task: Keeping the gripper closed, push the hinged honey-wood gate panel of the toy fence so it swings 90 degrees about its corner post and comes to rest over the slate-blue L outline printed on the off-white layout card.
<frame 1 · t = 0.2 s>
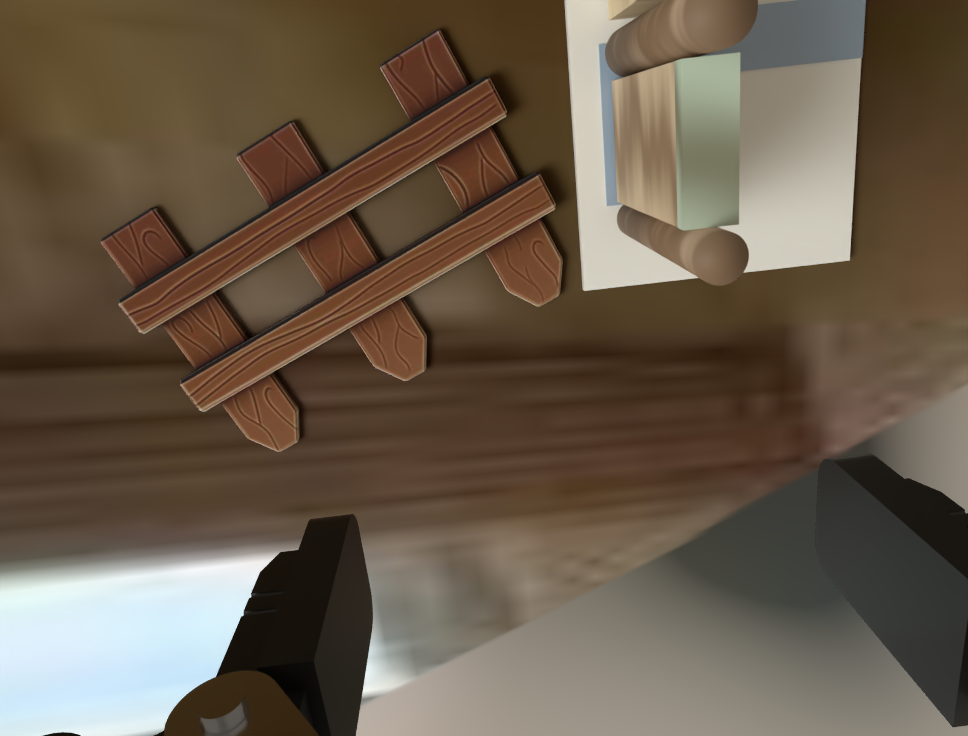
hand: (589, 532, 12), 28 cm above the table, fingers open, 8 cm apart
layout card: (713, 43, 36), on the table
fixed leg: (628, 51, 36), resting on layout card
decorative fence: (346, 259, 40), on the table
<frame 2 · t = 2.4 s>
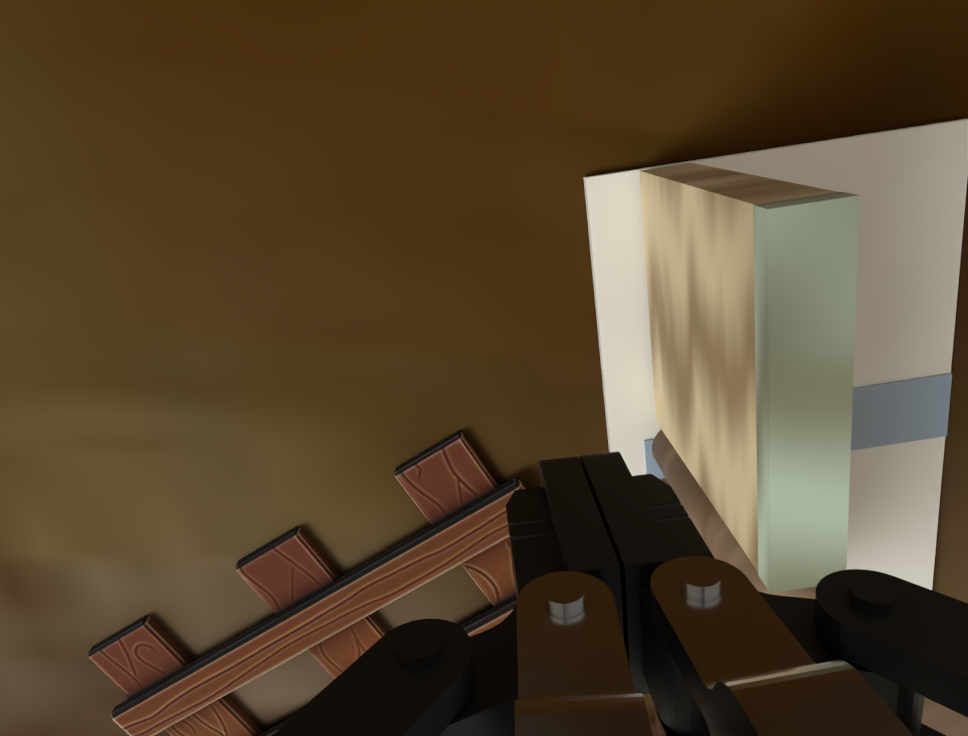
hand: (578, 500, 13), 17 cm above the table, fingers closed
layout card: (775, 426, 32), on the table
fixed leg: (678, 446, 31), resting on layout card
gate panel: (725, 343, 23), point 7 cm above the table, hinge at 0.0°
decorative fence: (363, 641, 36), on the table
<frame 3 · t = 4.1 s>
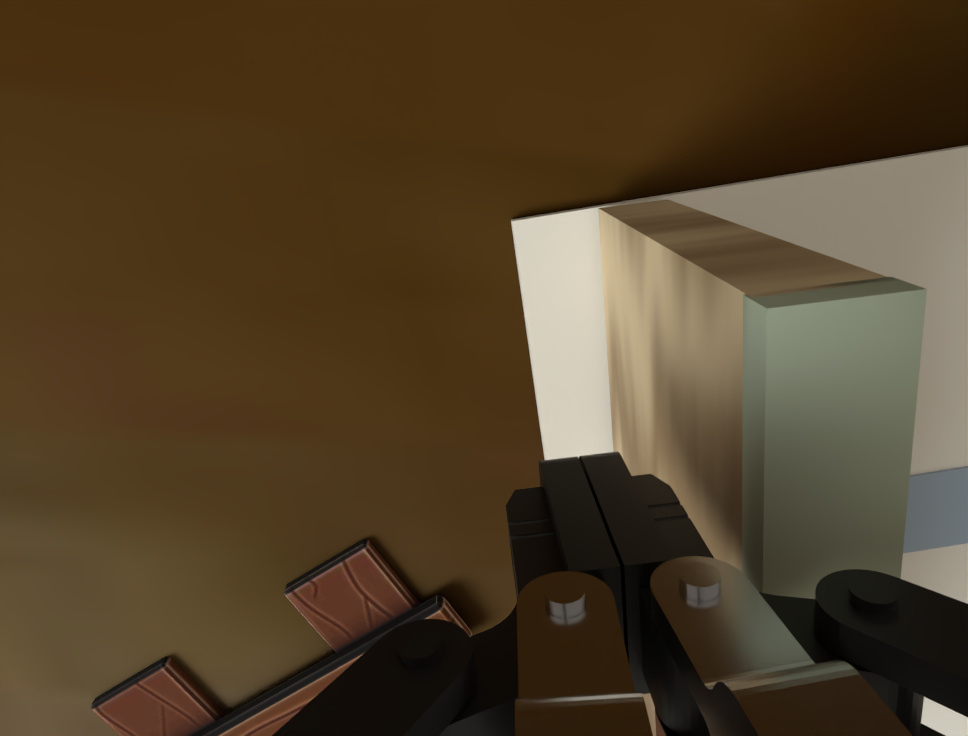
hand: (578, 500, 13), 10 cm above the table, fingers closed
layout card: (771, 528, 25), on the table
gate panel: (703, 460, 16), point 7 cm above the table, hinge at -2.3°, touching gripper
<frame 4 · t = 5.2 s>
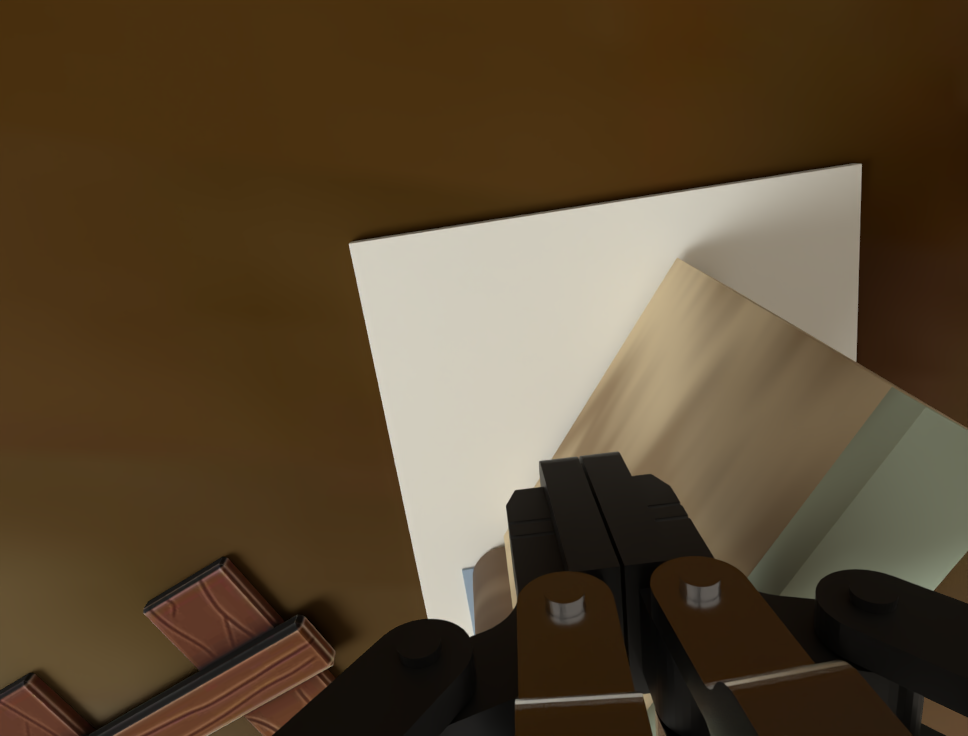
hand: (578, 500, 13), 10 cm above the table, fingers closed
layout card: (633, 548, 25), on the table
fixed leg: (507, 576, 24), resting on layout card
gate panel: (663, 515, 17), point 7 cm above the table, hinge at -36.8°, touching gripper
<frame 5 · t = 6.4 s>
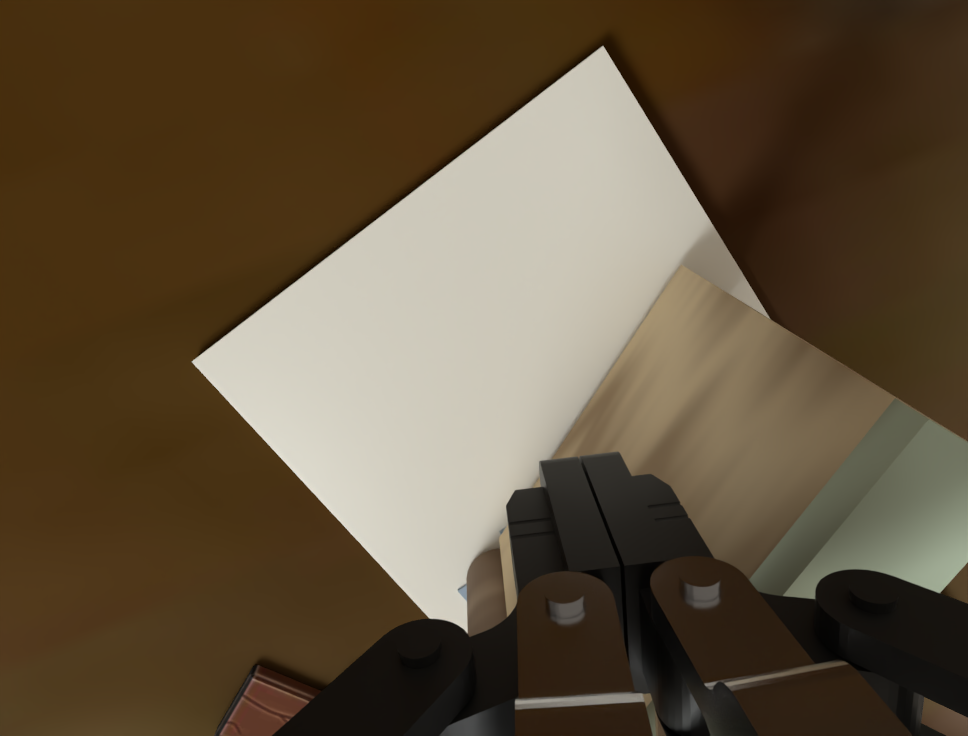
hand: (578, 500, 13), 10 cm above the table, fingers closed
layout card: (607, 500, 24), on the table
fixed leg: (501, 578, 24), resting on layout card
gate panel: (661, 521, 17), point 7 cm above the table, hinge at -66.3°, touching gripper
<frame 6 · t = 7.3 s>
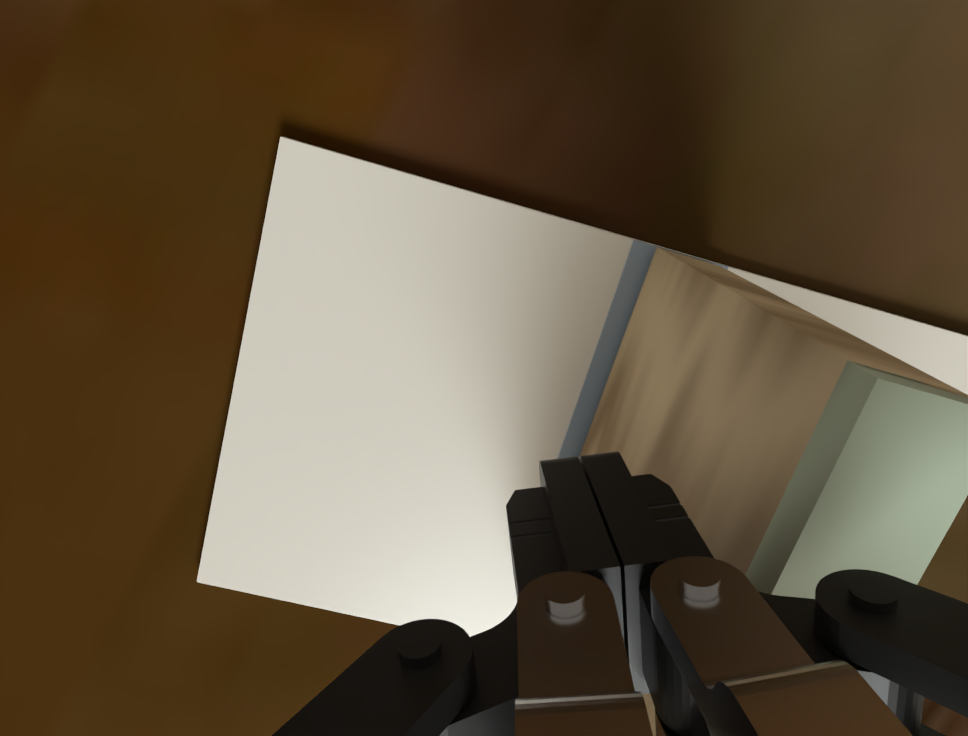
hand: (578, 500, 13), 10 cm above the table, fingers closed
layout card: (597, 467, 24), on the table
gate panel: (681, 509, 17), point 7 cm above the table, hinge at -90.5°, touching gripper
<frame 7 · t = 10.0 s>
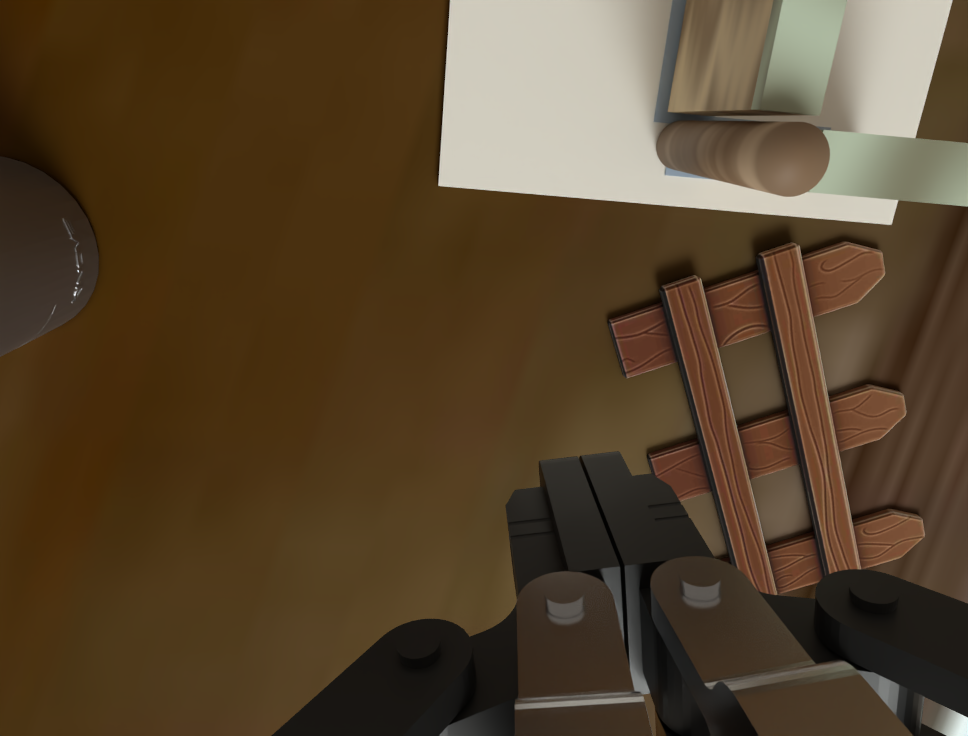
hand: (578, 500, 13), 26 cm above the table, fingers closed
layout card: (693, 49, 35), on the table
fixed leg: (679, 145, 36), resting on layout card
decorative fence: (769, 435, 43), on the table
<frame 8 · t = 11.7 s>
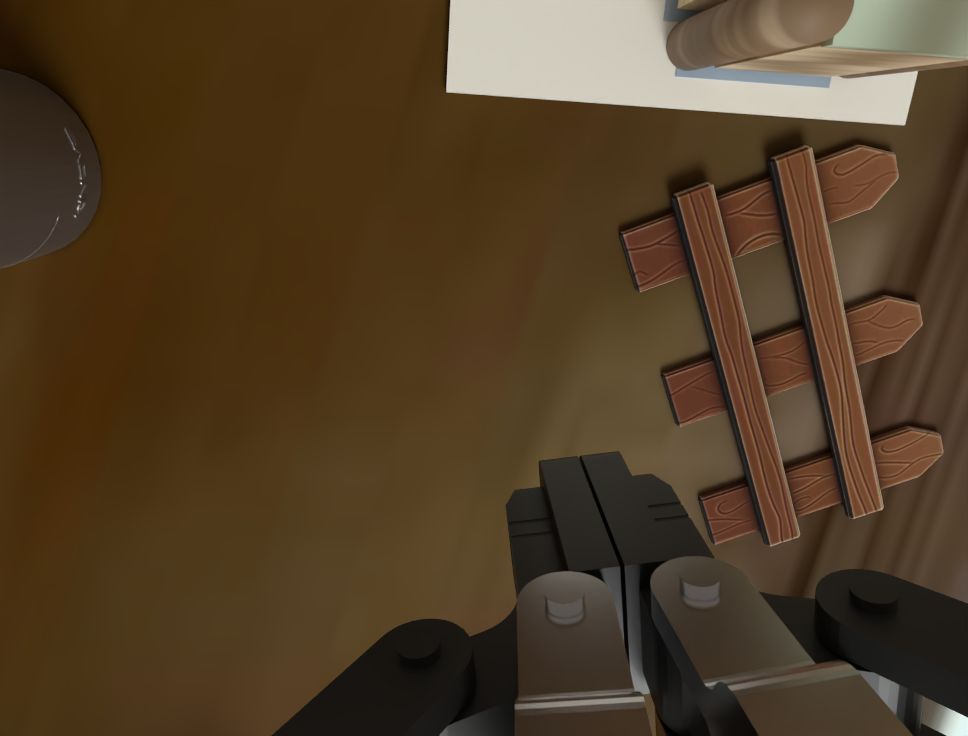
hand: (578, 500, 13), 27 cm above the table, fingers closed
fixed leg: (690, 44, 35), resting on layout card
decorative fence: (784, 352, 42), on the table
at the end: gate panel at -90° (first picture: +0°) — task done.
